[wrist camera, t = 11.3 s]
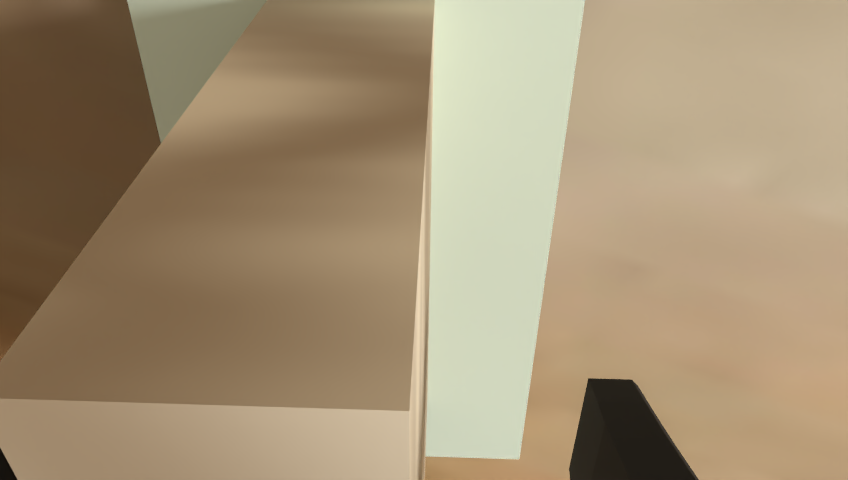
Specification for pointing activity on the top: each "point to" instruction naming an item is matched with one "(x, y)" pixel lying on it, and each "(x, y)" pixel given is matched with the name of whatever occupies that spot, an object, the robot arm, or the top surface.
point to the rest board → (445, 186)
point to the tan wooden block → (254, 274)
